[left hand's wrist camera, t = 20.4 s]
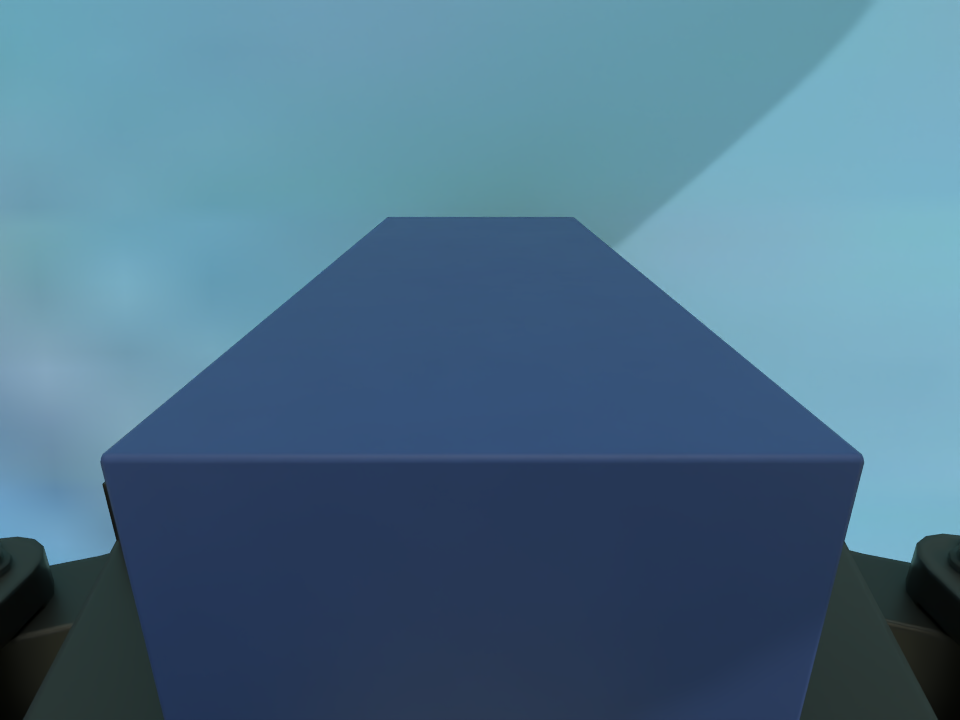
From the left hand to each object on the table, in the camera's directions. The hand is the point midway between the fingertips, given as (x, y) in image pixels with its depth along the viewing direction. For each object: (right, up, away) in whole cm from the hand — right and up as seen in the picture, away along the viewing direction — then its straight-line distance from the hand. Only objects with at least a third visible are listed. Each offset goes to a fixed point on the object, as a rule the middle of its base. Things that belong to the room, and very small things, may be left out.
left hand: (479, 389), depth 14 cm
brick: (0, +1, +2) cm, 2 cm away
